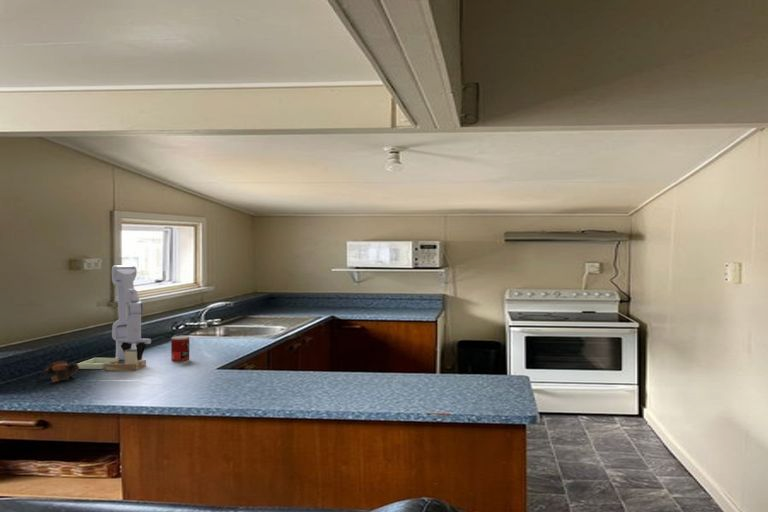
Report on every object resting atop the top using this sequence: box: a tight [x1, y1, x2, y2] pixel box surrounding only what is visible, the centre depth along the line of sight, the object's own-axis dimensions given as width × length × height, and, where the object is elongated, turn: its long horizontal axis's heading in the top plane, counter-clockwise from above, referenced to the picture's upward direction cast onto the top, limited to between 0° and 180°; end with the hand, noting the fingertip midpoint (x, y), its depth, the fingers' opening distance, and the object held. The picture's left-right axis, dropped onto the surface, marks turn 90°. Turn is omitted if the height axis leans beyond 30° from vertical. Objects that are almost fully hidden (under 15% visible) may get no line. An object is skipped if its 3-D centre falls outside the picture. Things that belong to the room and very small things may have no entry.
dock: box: [104, 359, 147, 372], centre depth 221 cm, size 10×13×3 cm
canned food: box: [170, 335, 190, 362], centre depth 239 cm, size 8×8×11 cm
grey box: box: [124, 347, 144, 364], centre depth 228 cm, size 8×5×6 cm, turn 178°
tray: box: [76, 357, 120, 370], centre depth 225 cm, size 13×11×2 cm
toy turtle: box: [43, 360, 79, 383], centre depth 204 cm, size 12×10×8 cm
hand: (133, 359), depth 228 cm, fingers closed on grey box, 4 cm apart
